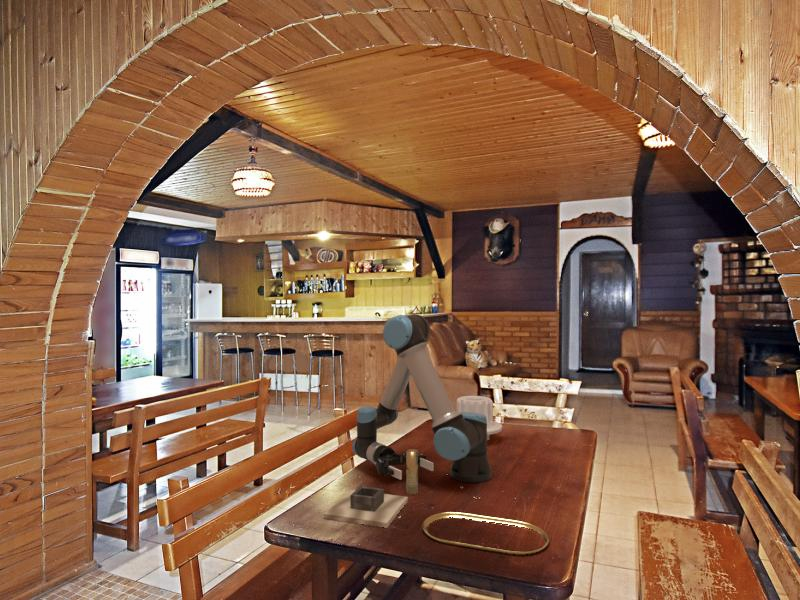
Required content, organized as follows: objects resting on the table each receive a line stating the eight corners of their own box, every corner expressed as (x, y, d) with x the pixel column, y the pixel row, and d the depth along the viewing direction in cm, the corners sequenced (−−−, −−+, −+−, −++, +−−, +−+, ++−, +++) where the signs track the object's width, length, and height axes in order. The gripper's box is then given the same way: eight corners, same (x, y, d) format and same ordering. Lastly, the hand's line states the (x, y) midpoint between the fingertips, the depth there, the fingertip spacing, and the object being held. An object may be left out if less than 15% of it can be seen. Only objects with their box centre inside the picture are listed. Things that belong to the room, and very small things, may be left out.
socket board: (407, 501, 167) (407, 484, 167) (386, 528, 148) (386, 509, 148) (350, 494, 173) (350, 477, 173) (323, 518, 154) (323, 500, 154)
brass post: (419, 490, 176) (419, 449, 176) (416, 495, 172) (416, 453, 172) (408, 489, 178) (408, 448, 177) (404, 493, 174) (404, 452, 174)
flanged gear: (513, 439, 237) (513, 398, 237) (479, 451, 220) (479, 407, 220) (470, 429, 255) (470, 391, 255) (436, 439, 238) (436, 398, 238)
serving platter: (546, 563, 130) (546, 557, 130) (413, 541, 142) (413, 535, 141) (550, 531, 147) (550, 525, 147) (432, 513, 159) (432, 508, 159)
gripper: (408, 458, 197) (445, 474, 180) (352, 472, 182) (386, 490, 165) (408, 439, 197) (445, 452, 180) (352, 451, 182) (386, 467, 165)
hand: (417, 471), depth 173 cm, fingers open, 13 cm apart
